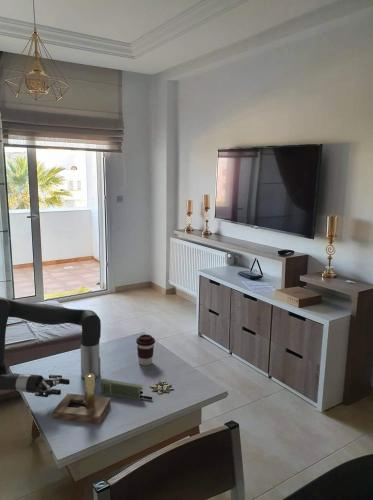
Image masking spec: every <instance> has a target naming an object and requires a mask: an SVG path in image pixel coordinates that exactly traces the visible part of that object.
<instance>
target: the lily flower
mask: <svg viewBox="0 0 373 500" xmlns="http://www.w3.org/2000/svg"><path fill="white" fill-rule="evenodd" d="M157 383H158V384H156V383H155V385H156V386H157V387H154V388H152V392H155V391H157V393H158V395H159V396H160V395H161V394H163V393H165V392H166V393H168V392H169V393H170V390H169V388H168V387H172V384H171V385H170V386H167V388H166V390H160V389H163V388H164V387H163V386H164V385H168V384H169V383H167V381H165V382H164V381H161V379H159V380H158V382H157ZM162 383H163V384H162ZM164 383H167V384H164ZM158 385H160V386H162V387H160V389H158ZM158 390H160V391H164V392H162V393H159V392H158Z"/></svg>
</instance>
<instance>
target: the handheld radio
mask: <svg viewBox="0 0 373 500" xmlns="http://www.w3.org/2000/svg"><path fill="white" fill-rule="evenodd" d="M143 389H144V388H143V385H142V384H137V383H132V382H126V381H120V380H119V381H118V380H112V379H108V378H101V379H100V394H105V395H111V396H116V397H122V398H129V399H133V400H141V399H145V400H150V401H152V400H153V396H148V395H143V394H144V392H143V391H142V390H143Z"/></svg>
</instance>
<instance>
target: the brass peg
mask: <svg viewBox="0 0 373 500" xmlns="http://www.w3.org/2000/svg"><path fill="white" fill-rule="evenodd" d="M95 380H96V378H95V375H94V374H91V373H90V374H86V375H85V378H84V395H85V407H91V408H92V407H93V405H95V396H96V381H95Z"/></svg>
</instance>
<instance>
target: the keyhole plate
mask: <svg viewBox="0 0 373 500" xmlns="http://www.w3.org/2000/svg"><path fill="white" fill-rule="evenodd" d="M70 403H73V404H82V406H79V407H71V406H69V405H70ZM83 405H85V394H78V393H66V394H65V396H64V397H63V398H62V400H60V401H59V403H58V404H57V405H56V407H55V408H54V409H53V410H52V418H53V419H55V420H63V421H73V422H79V423H88V424H89V423H91V424H95V425H96V424H97V425H98V424H99V425H100V423H101V422H102V420H103V418H104V417H105V415H106V413H107V412H108V409H109V408H110V407H111V397H104V396H96V395H95V405H93V407H92V408H91V407H88V406H86V405H85V406H83Z"/></svg>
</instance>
